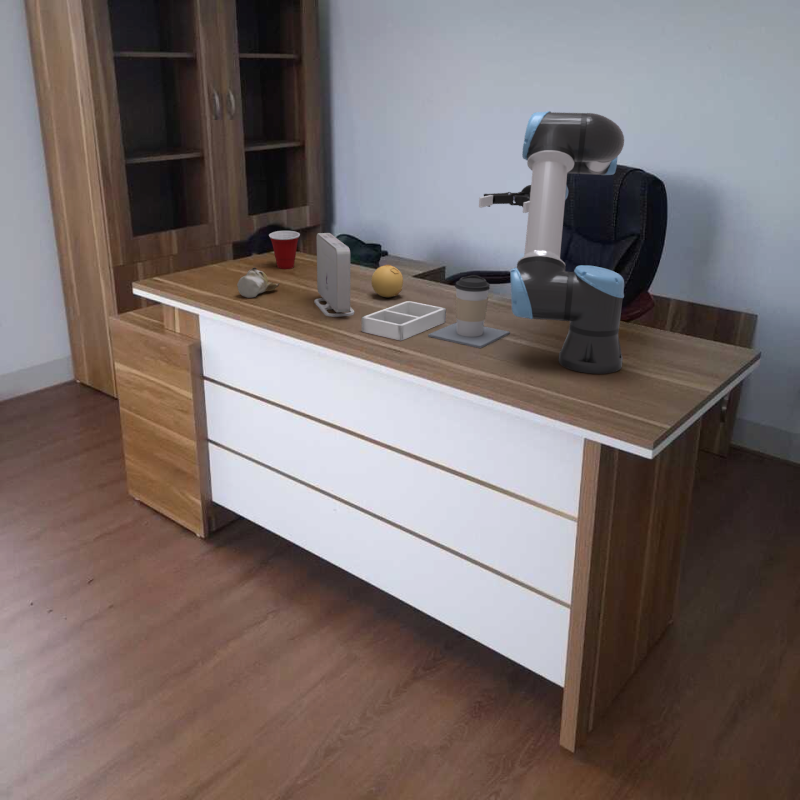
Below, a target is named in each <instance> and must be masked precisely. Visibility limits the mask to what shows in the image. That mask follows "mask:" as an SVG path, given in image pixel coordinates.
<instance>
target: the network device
mask: <svg viewBox="0 0 800 800" xmlns="http://www.w3.org/2000/svg"><path fill="white" fill-rule="evenodd" d="M316 274H317V275H316V279H317V280H316V282H317V283H316V286H317V287H316V288H317V293H318V294H319V295H320V296H321V298H316V299H314V304H315V305H316V307H317V308H318V309H319V310H320V311H321V312H322V314H323V315H324V316H327V317H330V318H331V317H333V318H337V317H351V316H354V315H355V310H354V309H353V308H352V307H351V250H350V248H349V246H348V245H346V244H344V243H343V242H342V241H341V240H339V239H338V238H337V237H336V236H334V235H333V234H332V233H330V232H324V233H323V232H322V233H321V232H319V233H317V234H316ZM320 302H326V304H321V303H320ZM327 310H333V311H334V312H336V313H329V312H328V311H327Z"/></svg>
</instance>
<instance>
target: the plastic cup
mask: <svg viewBox="0 0 800 800" xmlns="http://www.w3.org/2000/svg"><path fill="white" fill-rule="evenodd" d="M300 235H301V233H300V232H297V231H293V230H277V231H273V232H271V233H269V234H268V236H269V239H270V241H271V245H272V249H273V253H274V259H275V262H276V266H277V268H278V269H282V270H290V269H293V268H294V267H295V261H296V254H297V247H298V241H299V237H300Z"/></svg>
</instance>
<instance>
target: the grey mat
mask: <svg viewBox="0 0 800 800" xmlns="http://www.w3.org/2000/svg"><path fill="white" fill-rule="evenodd" d="M510 334H511V332H510V331H509V330H503V329H498V328H494V327H490V326H489V327H488V326H484V327H483V334H482V335H480V336H476V337H468V336H462V335H459V334H458V333H457V321H456V322H454V323H452V324H449V325H447V326H444V327H442V328H440V329H437V330H434V331H432V332H431V333H428V334H427V337H429V338H433V339H438V340H442V341H446V342H449V343H450V342H451V343H455V344H460V345H464V346H468V347H473V348H478V349H481V348H483V347H486V346H488V345H490V344H492V343H494V342H496V341H499V340H501V339H502V338H504V337H506V336H508V335H510Z"/></svg>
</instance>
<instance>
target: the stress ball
mask: <svg viewBox="0 0 800 800" xmlns="http://www.w3.org/2000/svg"><path fill="white" fill-rule="evenodd" d="M403 286H404V277H403V274H402V272H401V271H400V270H399V269H398V268H397V267H395V266H393V265H391V264H384V265H381V266H379V267H377V268H376V269H375V271H374V272H373V273H372V276H371V287H372V289H373V291H374V292H375V294H377V295H378V296H380V297H381V298H392V297H396V296H397V297H398V295H399V294H401V292H402V291H403Z"/></svg>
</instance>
